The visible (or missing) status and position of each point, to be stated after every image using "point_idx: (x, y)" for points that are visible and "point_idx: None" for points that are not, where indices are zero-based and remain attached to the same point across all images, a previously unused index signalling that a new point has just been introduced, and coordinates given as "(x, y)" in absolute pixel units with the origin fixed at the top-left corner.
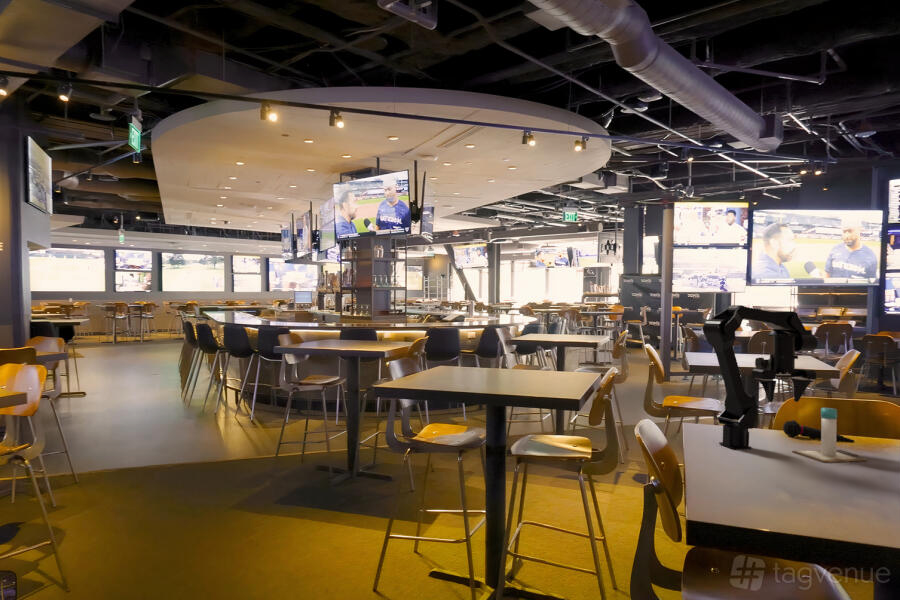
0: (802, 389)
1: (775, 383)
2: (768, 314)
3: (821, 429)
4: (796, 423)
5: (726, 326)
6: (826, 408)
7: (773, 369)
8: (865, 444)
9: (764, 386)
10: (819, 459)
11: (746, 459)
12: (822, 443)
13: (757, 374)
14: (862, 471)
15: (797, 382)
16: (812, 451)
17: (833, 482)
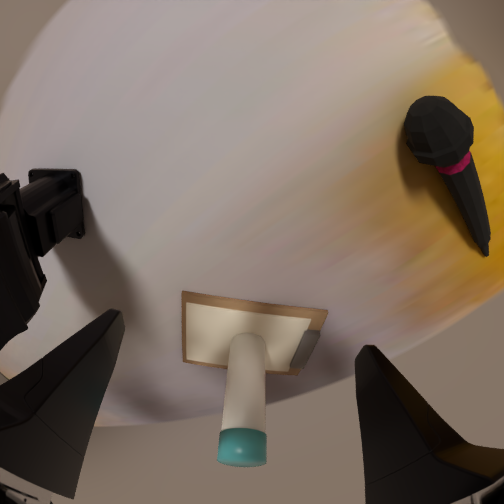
0: (366, 462)
1: (73, 479)
2: None
3: (228, 394)
4: (449, 161)
5: None
6: (237, 460)
7: None
8: (479, 274)
9: (18, 396)
10: (185, 354)
11: (41, 295)
12: (228, 363)
13: None
14: (209, 395)
15: (411, 490)
16: (233, 317)
17: (115, 394)
